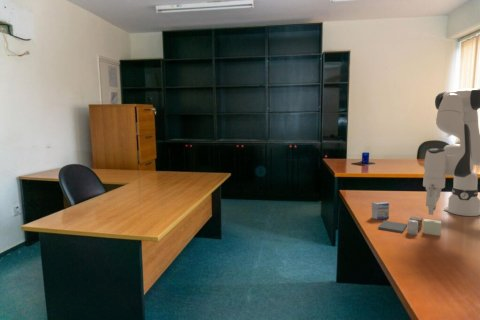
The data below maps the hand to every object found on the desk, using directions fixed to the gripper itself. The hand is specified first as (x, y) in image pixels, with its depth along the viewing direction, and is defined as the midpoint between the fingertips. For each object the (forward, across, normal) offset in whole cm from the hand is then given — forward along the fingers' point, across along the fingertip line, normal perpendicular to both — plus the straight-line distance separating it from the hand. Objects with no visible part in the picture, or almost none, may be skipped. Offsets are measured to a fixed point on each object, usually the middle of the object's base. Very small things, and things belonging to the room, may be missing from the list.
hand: (432, 212), depth 154 cm
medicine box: (+11, +12, +26) cm, 30 cm away
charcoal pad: (+10, 0, +17) cm, 20 cm away
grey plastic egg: (+10, -4, +7) cm, 13 cm away
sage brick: (+10, +1, 0) cm, 11 cm away
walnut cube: (+10, +6, +7) cm, 14 cm away
